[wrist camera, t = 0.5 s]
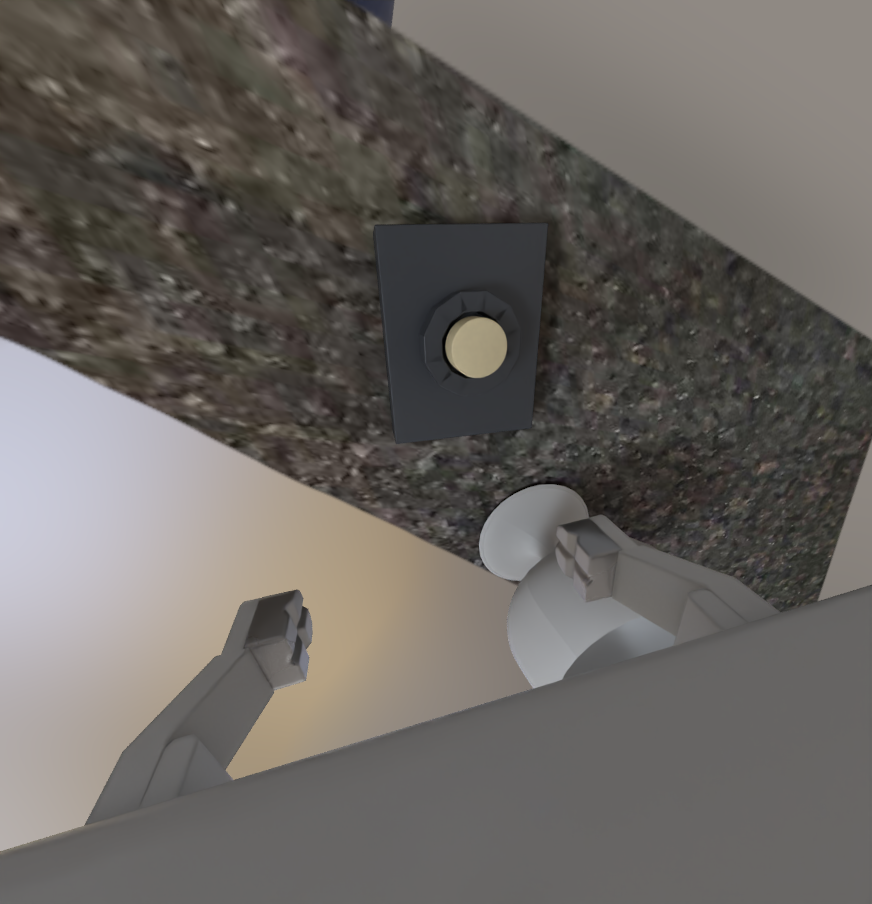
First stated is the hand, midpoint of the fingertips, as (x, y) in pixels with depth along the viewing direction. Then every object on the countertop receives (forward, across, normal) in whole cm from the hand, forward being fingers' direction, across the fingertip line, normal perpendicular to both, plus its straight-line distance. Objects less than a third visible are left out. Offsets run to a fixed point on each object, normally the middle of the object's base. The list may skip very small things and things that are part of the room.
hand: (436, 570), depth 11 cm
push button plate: (+19, -6, -4) cm, 20 cm away
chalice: (+18, -12, +17) cm, 28 cm away
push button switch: (+14, -6, -4) cm, 16 cm away
